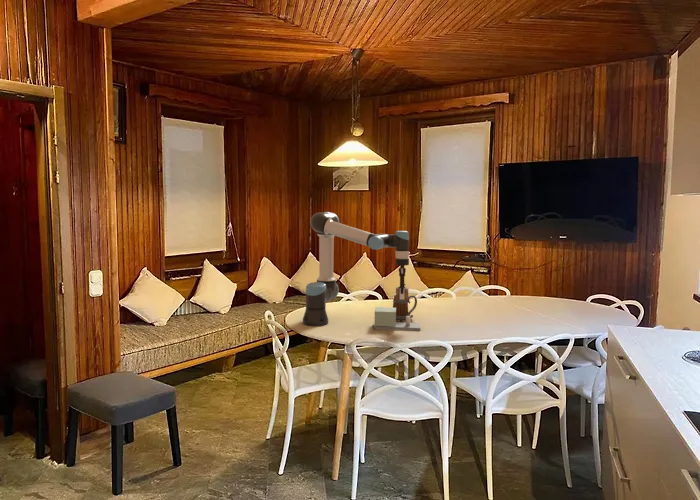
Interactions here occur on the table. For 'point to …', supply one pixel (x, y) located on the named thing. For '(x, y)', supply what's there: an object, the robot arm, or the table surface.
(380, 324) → the cover
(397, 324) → the housing base
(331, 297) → the robot arm
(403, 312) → the mug
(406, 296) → the brown wooden cup
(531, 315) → the table surface
